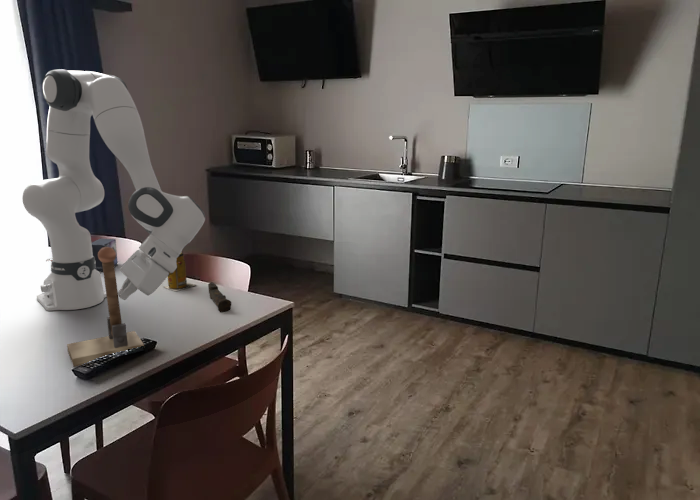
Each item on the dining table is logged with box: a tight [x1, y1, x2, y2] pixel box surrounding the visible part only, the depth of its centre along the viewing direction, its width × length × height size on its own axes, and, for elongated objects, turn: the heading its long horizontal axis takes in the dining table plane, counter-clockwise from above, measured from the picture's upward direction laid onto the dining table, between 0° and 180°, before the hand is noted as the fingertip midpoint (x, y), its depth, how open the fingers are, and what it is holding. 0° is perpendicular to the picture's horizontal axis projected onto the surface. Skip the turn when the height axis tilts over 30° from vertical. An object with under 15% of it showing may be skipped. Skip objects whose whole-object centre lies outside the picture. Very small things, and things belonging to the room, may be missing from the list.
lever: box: [98, 247, 123, 336], centre depth 136 cm, size 4×4×24 cm
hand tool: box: [207, 282, 232, 313], centre depth 173 cm, size 19×4×5 cm, turn 25°
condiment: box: [164, 251, 196, 292], centre depth 188 cm, size 7×8×12 cm
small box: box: [91, 238, 119, 272], centre depth 209 cm, size 11×6×10 cm, turn 179°
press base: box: [66, 316, 145, 368], centre depth 137 cm, size 16×10×8 cm, turn 123°
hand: (120, 297), depth 137 cm, fingers closed, pressing on lever
